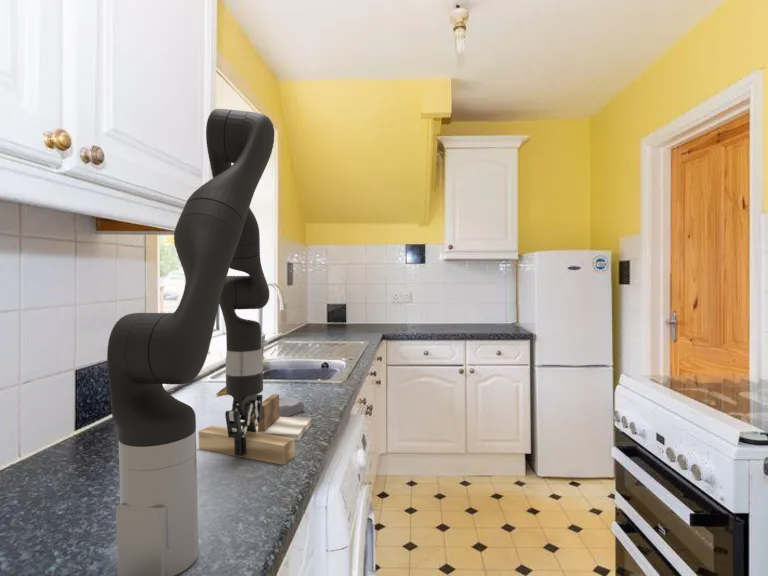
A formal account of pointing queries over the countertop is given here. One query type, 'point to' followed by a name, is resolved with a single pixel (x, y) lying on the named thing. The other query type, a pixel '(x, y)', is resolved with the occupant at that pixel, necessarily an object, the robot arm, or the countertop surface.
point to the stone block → (290, 407)
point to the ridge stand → (280, 421)
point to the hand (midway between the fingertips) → (245, 449)
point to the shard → (222, 392)
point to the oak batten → (249, 445)
